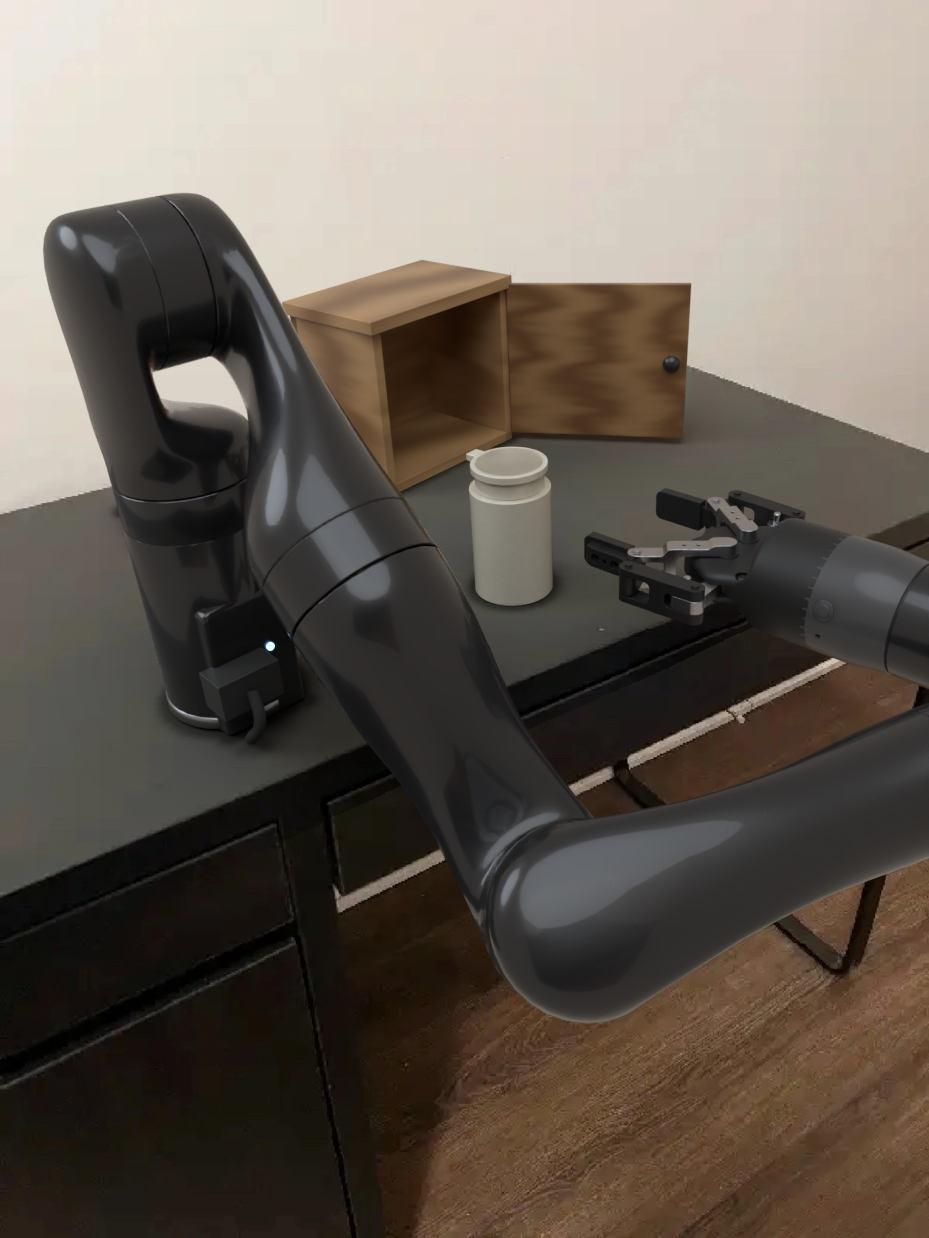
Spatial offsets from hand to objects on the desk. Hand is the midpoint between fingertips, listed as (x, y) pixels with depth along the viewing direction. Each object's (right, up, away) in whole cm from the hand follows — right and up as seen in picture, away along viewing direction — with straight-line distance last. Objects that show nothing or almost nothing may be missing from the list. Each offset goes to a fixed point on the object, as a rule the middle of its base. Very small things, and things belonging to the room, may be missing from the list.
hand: (624, 523), depth 73 cm
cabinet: (-8, +10, +34) cm, 37 cm away
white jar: (-7, -4, +11) cm, 14 cm away
